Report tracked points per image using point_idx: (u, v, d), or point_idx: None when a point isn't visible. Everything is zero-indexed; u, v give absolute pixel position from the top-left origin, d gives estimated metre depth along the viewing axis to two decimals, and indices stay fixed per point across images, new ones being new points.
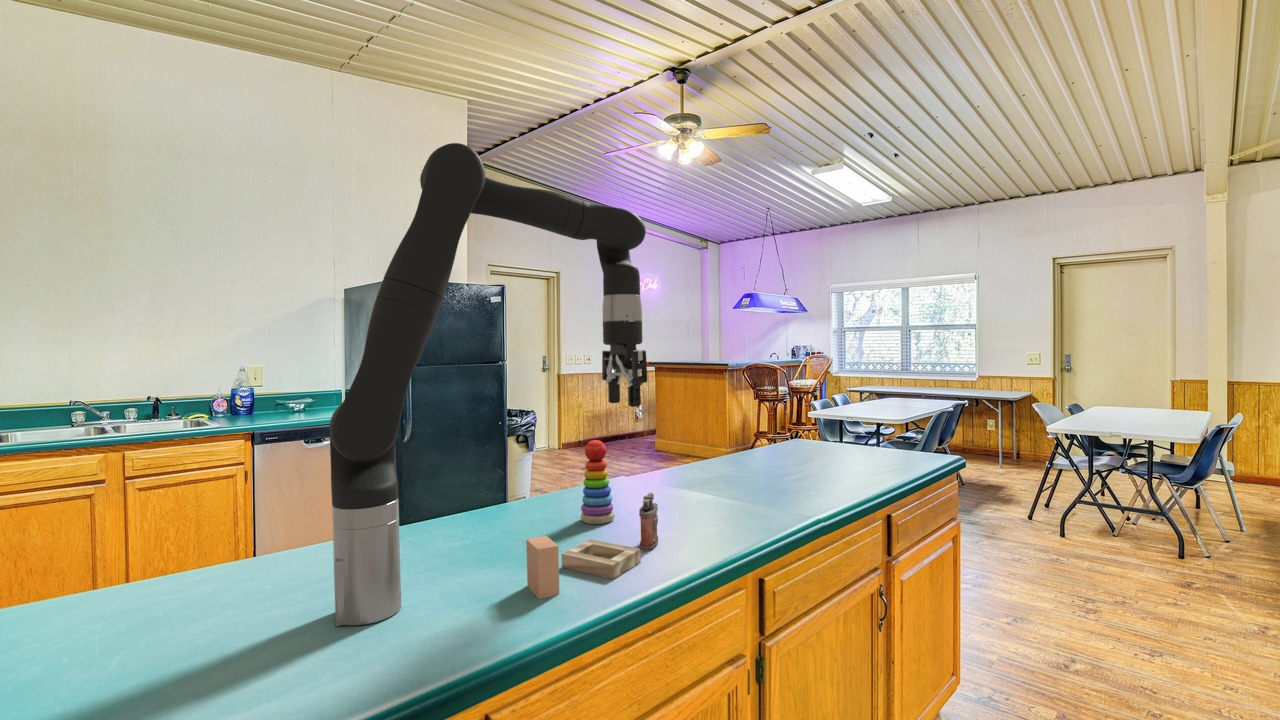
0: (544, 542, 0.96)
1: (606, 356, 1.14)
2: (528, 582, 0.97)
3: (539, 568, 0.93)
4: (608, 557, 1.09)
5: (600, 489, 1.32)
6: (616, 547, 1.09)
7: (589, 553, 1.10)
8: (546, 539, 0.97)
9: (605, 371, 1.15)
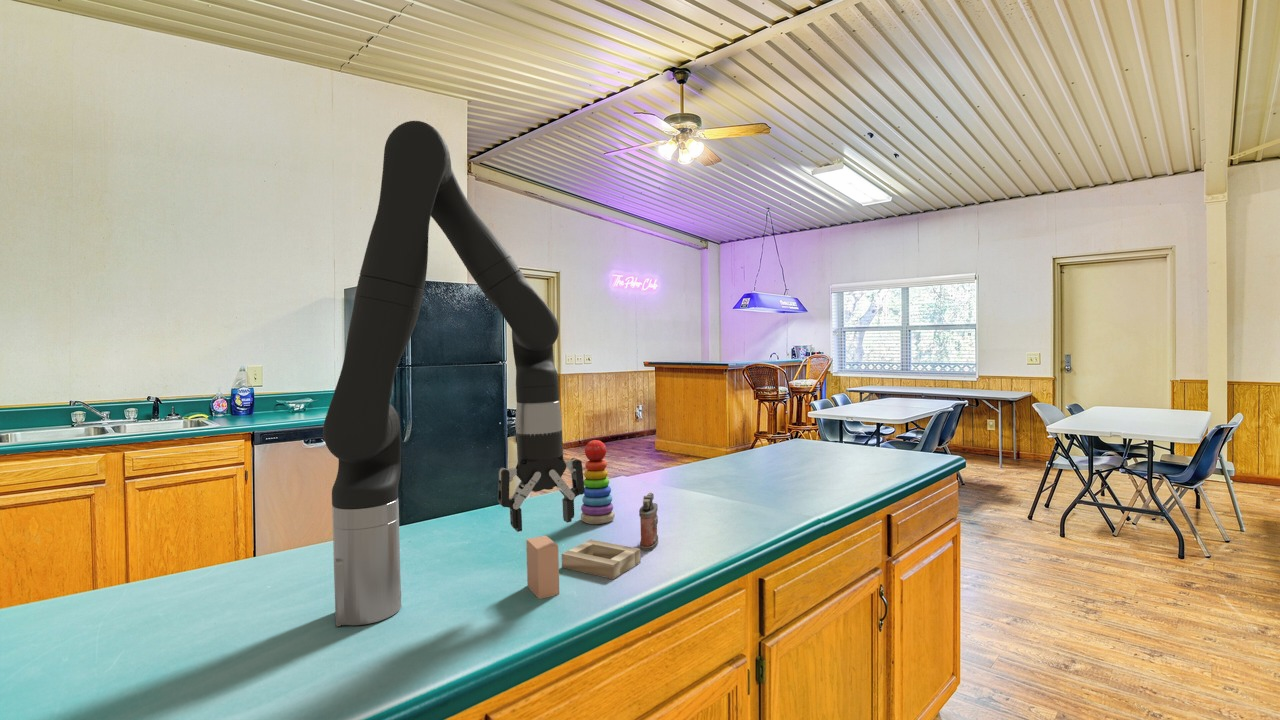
0: (544, 542, 0.96)
1: None
2: (528, 582, 0.97)
3: (539, 568, 0.93)
4: (608, 557, 1.09)
5: (600, 489, 1.32)
6: (616, 547, 1.09)
7: (589, 553, 1.10)
8: (546, 539, 0.97)
9: (508, 495, 0.92)
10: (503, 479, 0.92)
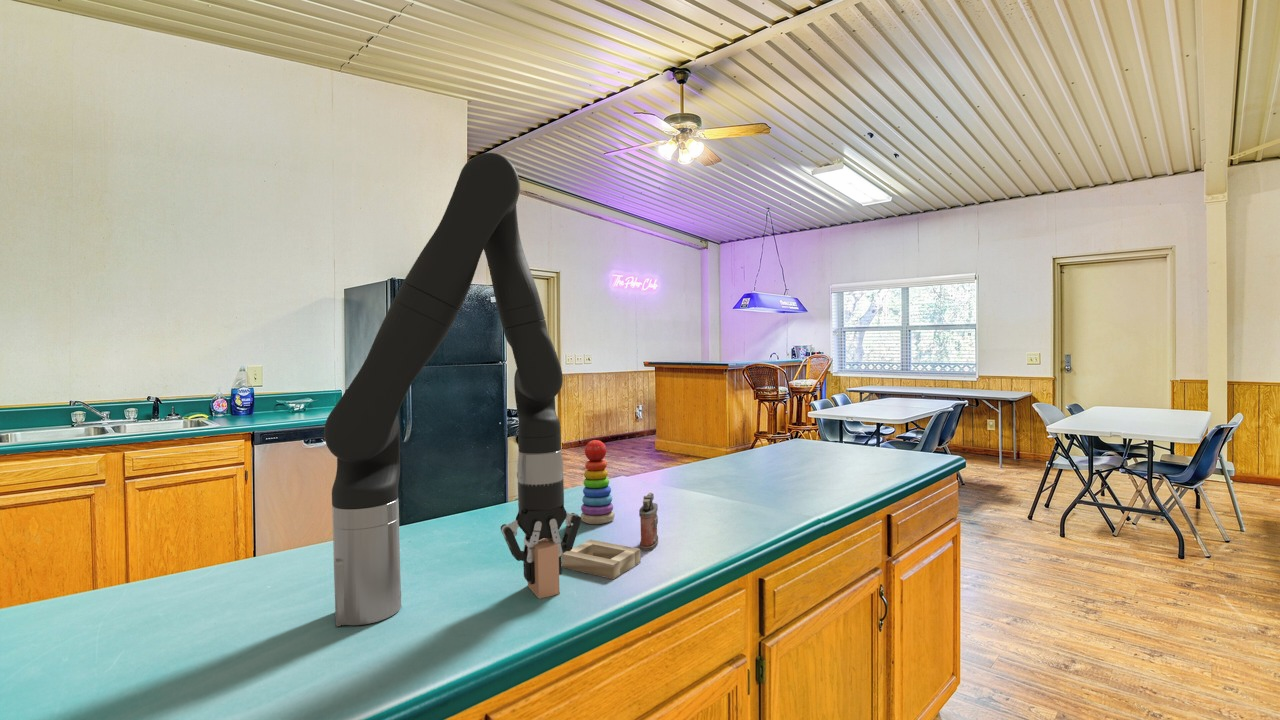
0: (544, 542, 0.96)
1: (512, 532, 0.93)
2: (528, 582, 0.97)
3: (539, 567, 0.93)
4: (608, 557, 1.09)
5: (600, 489, 1.32)
6: (616, 547, 1.09)
7: (589, 553, 1.10)
8: (546, 539, 0.97)
9: (519, 548, 0.93)
10: (508, 537, 0.92)
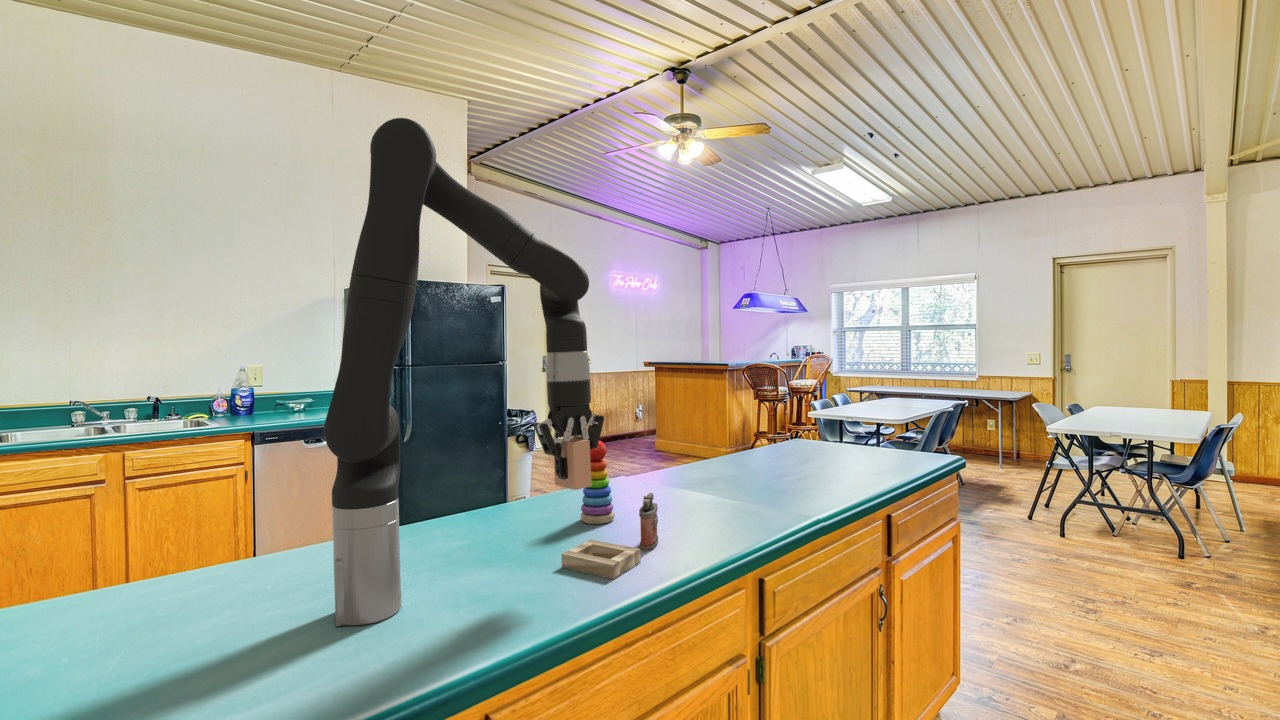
0: (573, 439, 1.00)
1: None
2: (556, 480, 1.01)
3: (574, 460, 0.97)
4: (608, 557, 1.09)
5: (600, 489, 1.32)
6: (616, 547, 1.09)
7: (589, 553, 1.10)
8: (572, 438, 1.02)
9: (554, 444, 0.97)
10: (545, 433, 0.96)
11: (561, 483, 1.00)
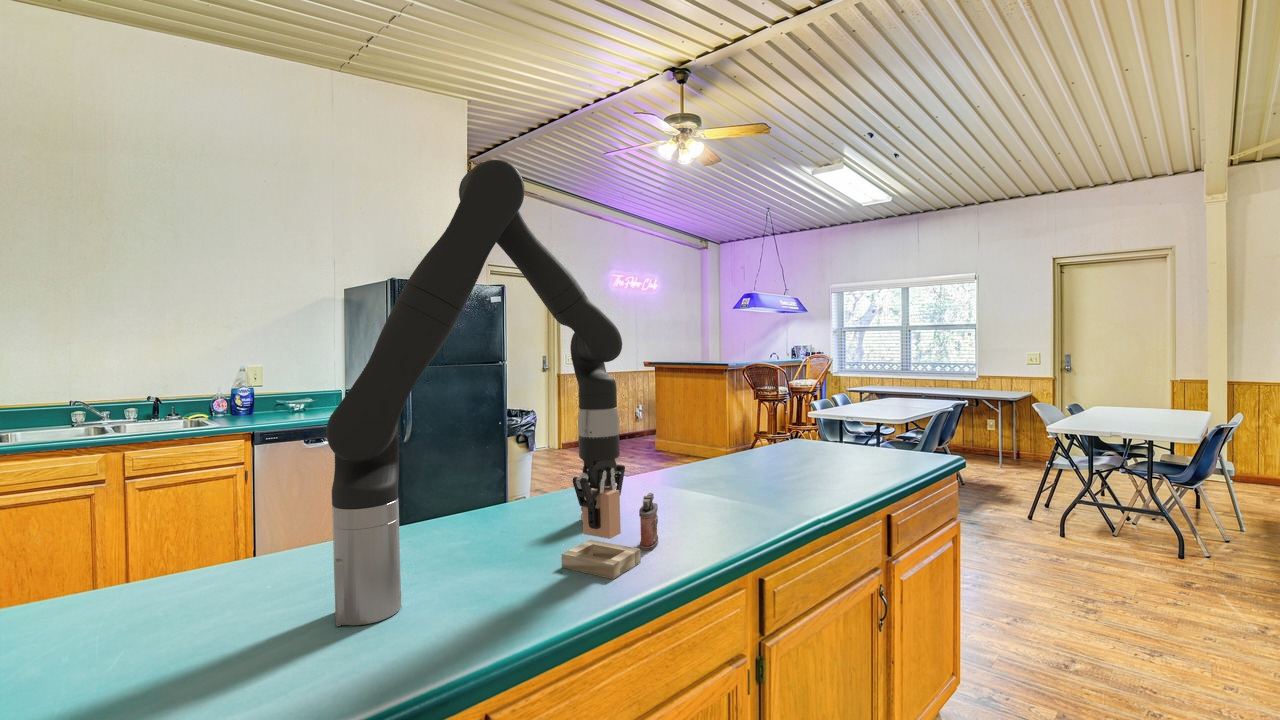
0: None
1: None
2: (585, 530, 1.06)
3: (609, 511, 1.03)
4: (608, 557, 1.09)
5: None
6: (616, 547, 1.09)
7: (589, 553, 1.10)
8: None
9: None
10: (585, 487, 1.01)
11: (591, 532, 1.05)
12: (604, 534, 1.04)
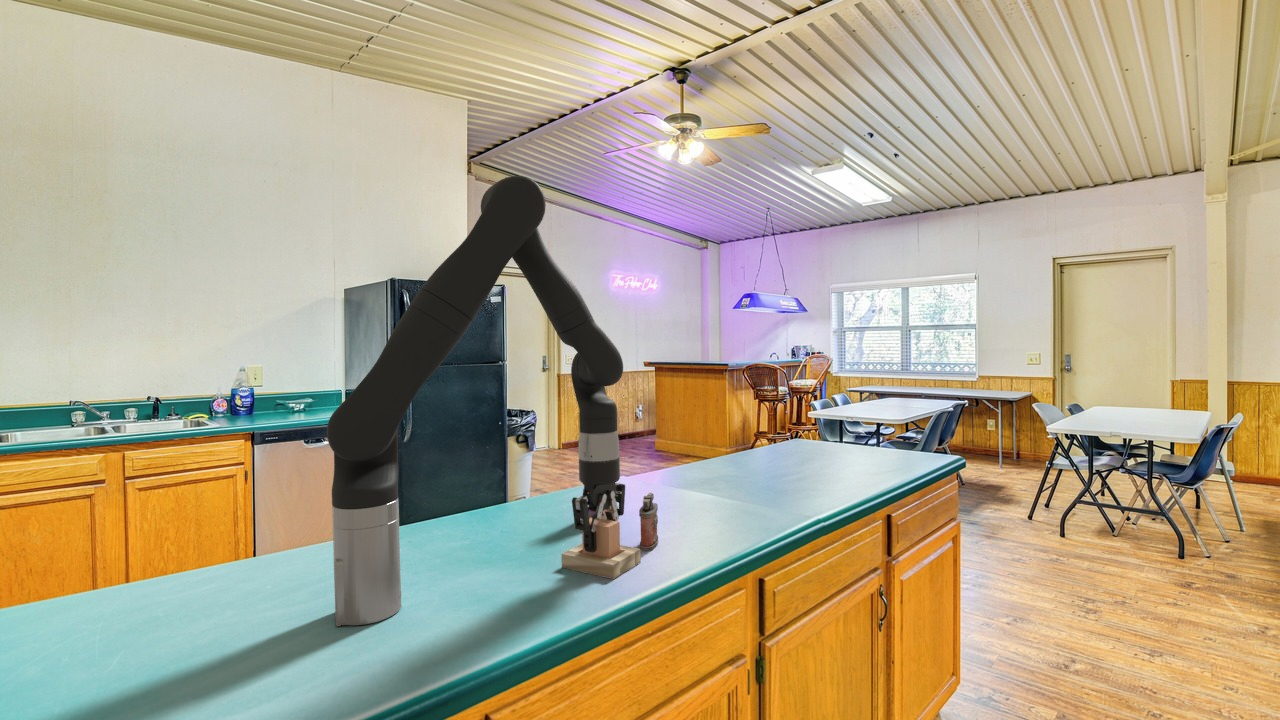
0: (603, 522, 1.07)
1: None
2: None
3: (609, 543, 1.04)
4: None
5: None
6: None
7: None
8: (599, 519, 1.08)
9: None
10: (584, 508, 1.00)
11: None
12: None
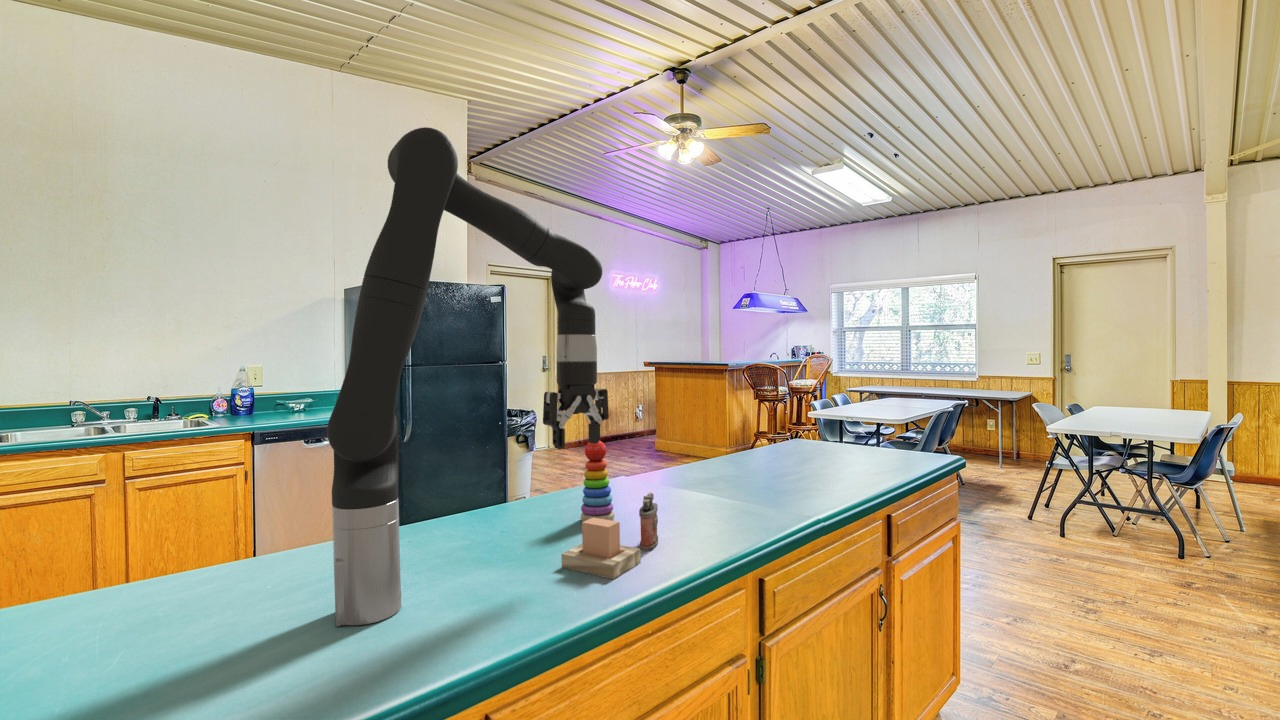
0: (603, 522, 1.07)
1: None
2: None
3: (609, 543, 1.04)
4: None
5: (600, 489, 1.32)
6: None
7: None
8: (599, 519, 1.08)
9: None
10: (553, 400, 1.02)
11: None
12: None
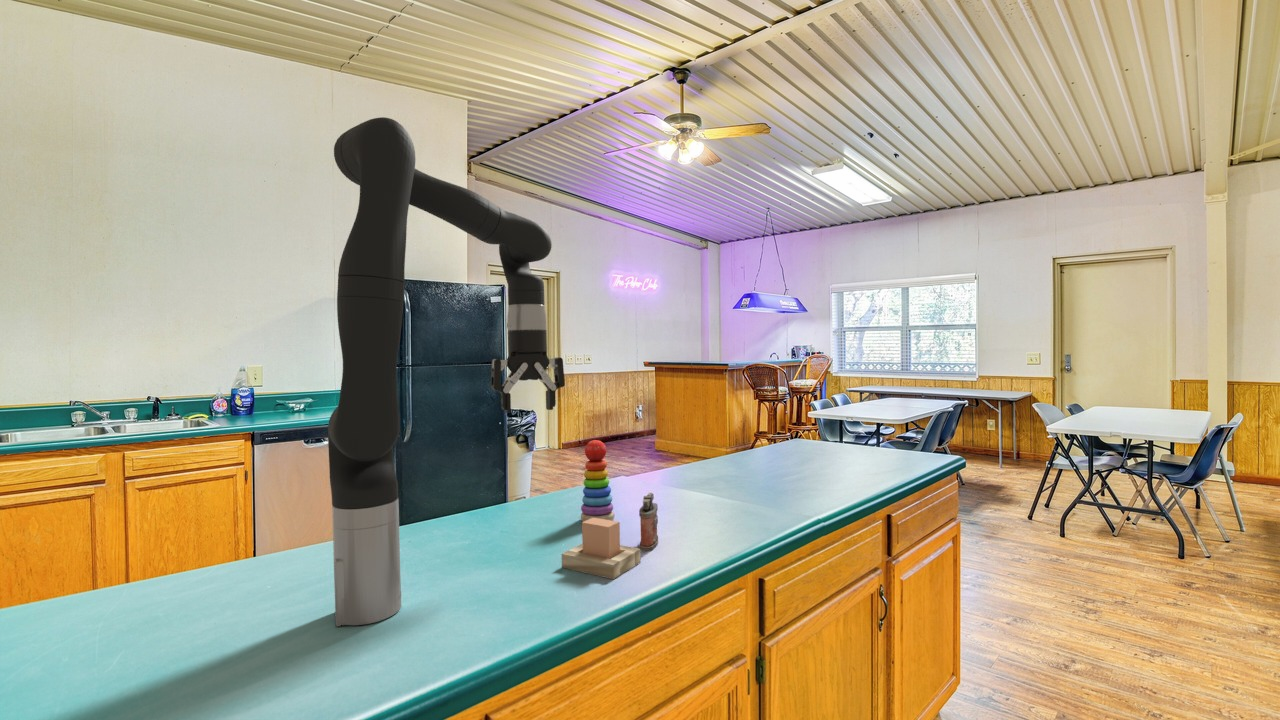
0: (603, 522, 1.07)
1: None
2: None
3: (609, 543, 1.04)
4: None
5: (600, 489, 1.32)
6: None
7: None
8: (599, 519, 1.08)
9: None
10: (495, 366, 1.09)
11: None
12: None
